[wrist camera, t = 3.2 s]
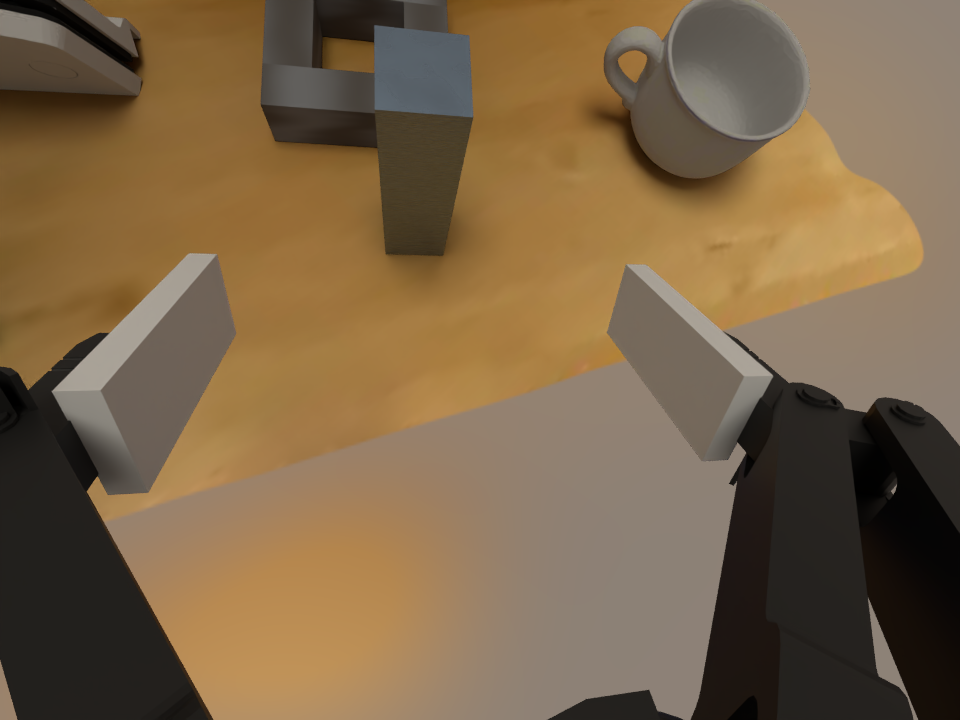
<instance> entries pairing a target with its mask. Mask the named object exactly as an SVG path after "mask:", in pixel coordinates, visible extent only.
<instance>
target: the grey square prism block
mask: <svg viewBox="0 0 960 720" xmlns="http://www.w3.org/2000/svg"><path fill="white" fill-rule="evenodd" d="M374 55H375V120H376V133H377V146H378V159H379V173H380V186H381V199H382V212H383V225H384V239H385V252H386V254H402V255H441V256H443V253H444V249H445V244H446V240H447V235H448V231H449V226H450V221H451V217H452V212H453V208H454V203H455V198H456V194H457V189H458V185H459V180H460V175H461V171H462V166H463V162H464V157H465V153H466V148H467V143H468V139H469V134H470V130H471V125H472V120H473V104H472V83H471V63H470V43H469V36H468V35H459V34H450V33H441V32H432V31H423V30H413V29H404V28H395V27H386V26H377V25H374Z"/></svg>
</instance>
